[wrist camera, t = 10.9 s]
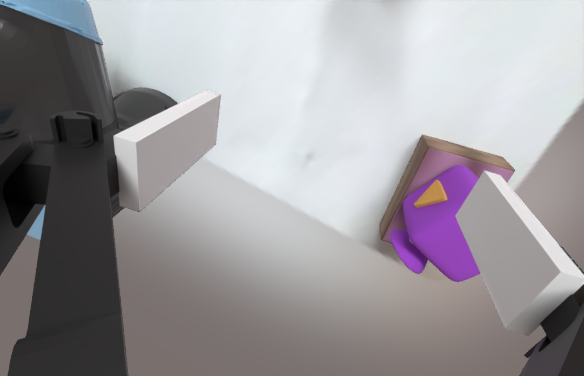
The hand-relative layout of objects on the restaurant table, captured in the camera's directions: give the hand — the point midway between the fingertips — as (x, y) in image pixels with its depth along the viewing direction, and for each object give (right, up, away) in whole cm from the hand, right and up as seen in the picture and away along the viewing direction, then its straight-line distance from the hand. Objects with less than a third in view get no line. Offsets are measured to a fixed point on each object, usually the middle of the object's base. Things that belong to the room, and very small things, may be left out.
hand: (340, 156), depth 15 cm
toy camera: (+18, -4, +27) cm, 33 cm away
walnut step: (+19, -3, +31) cm, 36 cm away
